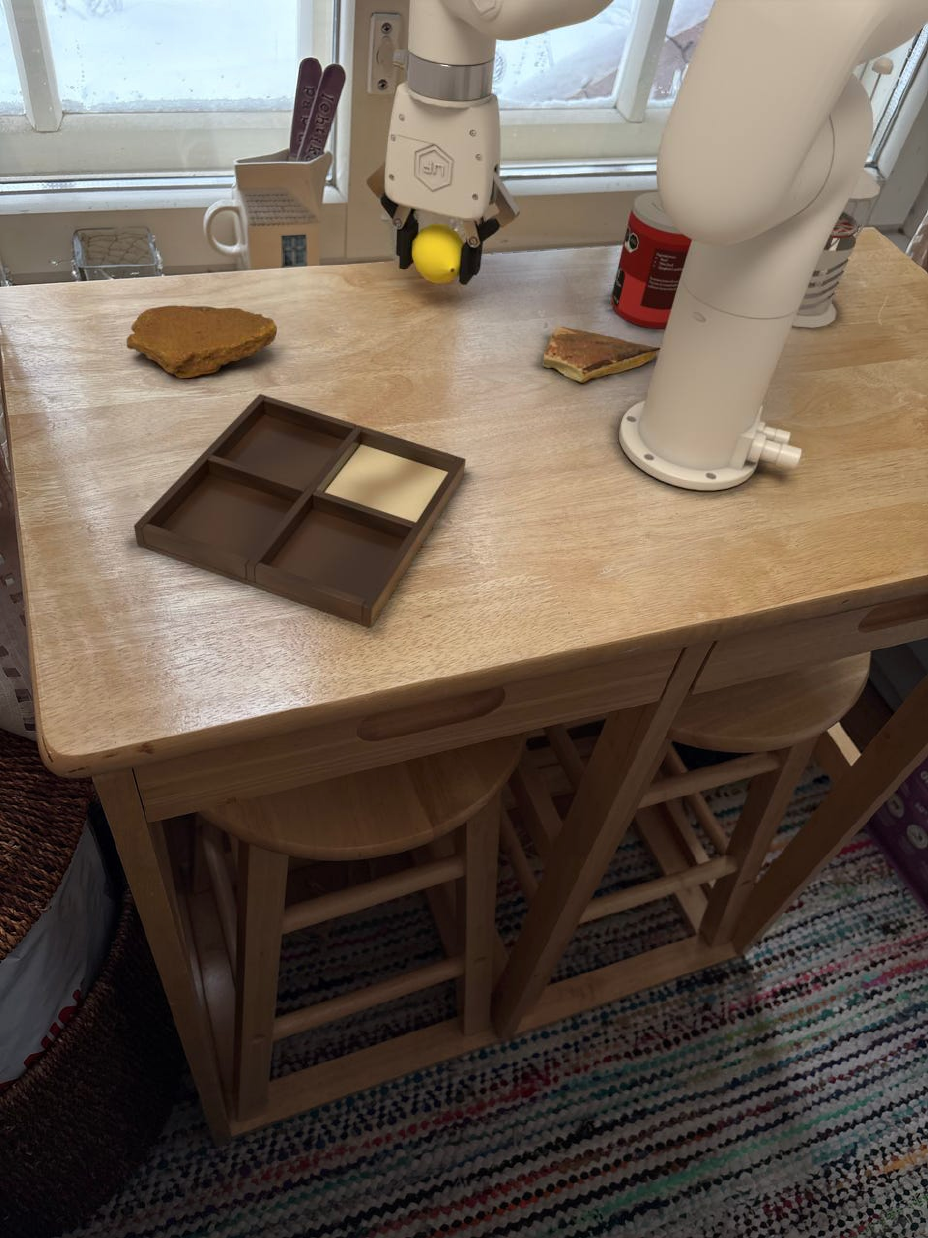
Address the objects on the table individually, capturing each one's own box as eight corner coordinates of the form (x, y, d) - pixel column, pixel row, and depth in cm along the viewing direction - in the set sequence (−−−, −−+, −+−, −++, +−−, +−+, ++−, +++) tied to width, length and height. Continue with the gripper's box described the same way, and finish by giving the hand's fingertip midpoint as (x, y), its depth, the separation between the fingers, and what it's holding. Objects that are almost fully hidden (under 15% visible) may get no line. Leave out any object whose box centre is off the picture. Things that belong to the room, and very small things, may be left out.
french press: (730, 293, 109) (812, 45, 91) (796, 271, 115) (886, 32, 96) (798, 336, 104) (898, 82, 86) (864, 310, 110) (972, 67, 91)
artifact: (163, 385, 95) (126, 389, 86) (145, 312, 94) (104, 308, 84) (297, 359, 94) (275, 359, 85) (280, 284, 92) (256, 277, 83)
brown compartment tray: (463, 477, 82) (466, 458, 81) (370, 628, 70) (371, 608, 68) (260, 412, 85) (259, 393, 84) (137, 545, 73) (133, 525, 71)
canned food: (630, 283, 108) (655, 183, 100) (694, 311, 105) (725, 211, 97) (595, 308, 104) (618, 206, 96) (661, 338, 101) (691, 235, 93)
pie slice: (658, 360, 98) (663, 345, 97) (649, 402, 93) (654, 386, 91) (552, 336, 99) (555, 320, 98) (538, 376, 94) (541, 360, 92)
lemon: (401, 266, 100) (403, 213, 97) (451, 261, 102) (455, 209, 98) (423, 299, 96) (426, 245, 92) (475, 293, 98) (480, 240, 94)
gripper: (341, 67, 85) (343, 267, 98) (530, 107, 81) (506, 308, 94) (377, 45, 90) (374, 237, 103) (556, 82, 87) (529, 276, 99)
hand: (437, 269), depth 98 cm, fingers closed on lemon, 5 cm apart
